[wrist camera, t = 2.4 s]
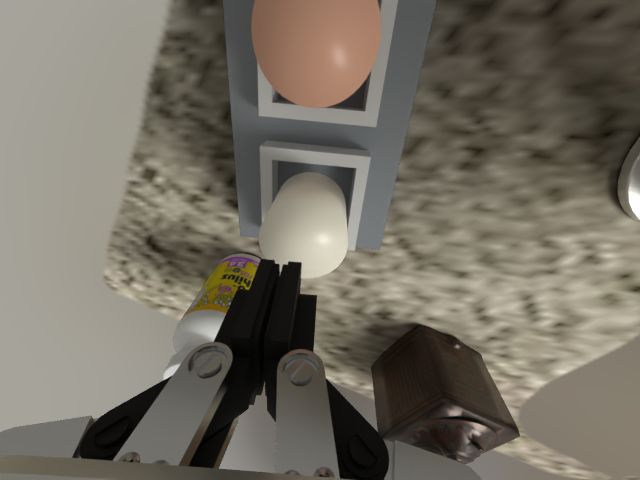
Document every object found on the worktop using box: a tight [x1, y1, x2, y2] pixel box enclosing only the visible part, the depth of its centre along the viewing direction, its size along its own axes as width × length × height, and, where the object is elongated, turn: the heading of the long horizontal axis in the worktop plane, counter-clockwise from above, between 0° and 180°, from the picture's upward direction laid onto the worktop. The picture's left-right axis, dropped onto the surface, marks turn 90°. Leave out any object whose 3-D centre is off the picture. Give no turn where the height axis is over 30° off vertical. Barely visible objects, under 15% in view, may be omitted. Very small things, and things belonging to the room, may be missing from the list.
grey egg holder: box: [223, 0, 437, 251], centre depth 20 cm, size 12×18×6 cm, turn 175°
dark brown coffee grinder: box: [371, 325, 520, 464], centre depth 28 cm, size 16×11×18 cm
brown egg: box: [251, 0, 381, 108], centre depth 12 cm, size 5×5×5 cm
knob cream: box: [259, 172, 348, 279], centre depth 17 cm, size 5×5×5 cm
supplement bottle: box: [163, 254, 261, 380], centre depth 25 cm, size 7×7×13 cm
